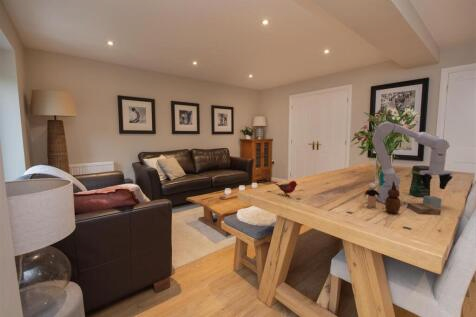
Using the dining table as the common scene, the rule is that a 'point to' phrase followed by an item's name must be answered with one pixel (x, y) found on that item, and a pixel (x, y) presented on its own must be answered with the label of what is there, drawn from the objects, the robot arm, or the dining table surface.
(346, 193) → the dining table surface
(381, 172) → the beverage can
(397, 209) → the wooden figurine
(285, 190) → the decorative bird figurine
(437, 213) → the walnut block
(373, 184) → the grandmother figurine
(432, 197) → the slate cube
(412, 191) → the coffee jar
